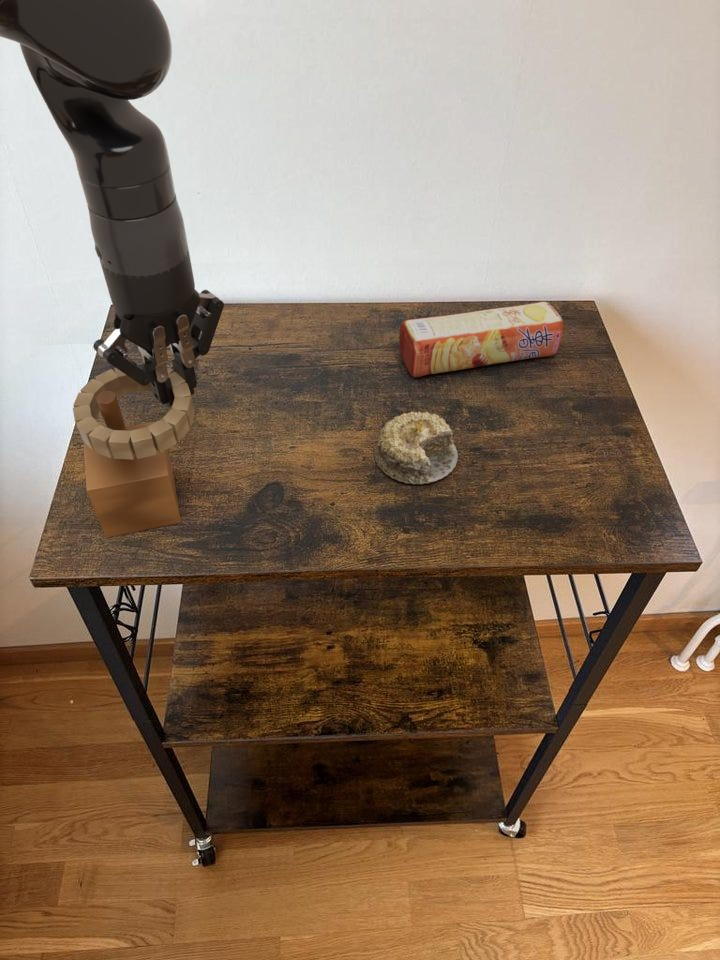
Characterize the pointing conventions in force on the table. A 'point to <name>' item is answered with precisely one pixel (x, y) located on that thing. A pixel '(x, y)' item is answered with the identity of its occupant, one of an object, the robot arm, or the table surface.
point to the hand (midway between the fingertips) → (177, 396)
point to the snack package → (479, 338)
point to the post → (129, 482)
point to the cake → (416, 448)
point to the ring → (137, 440)
